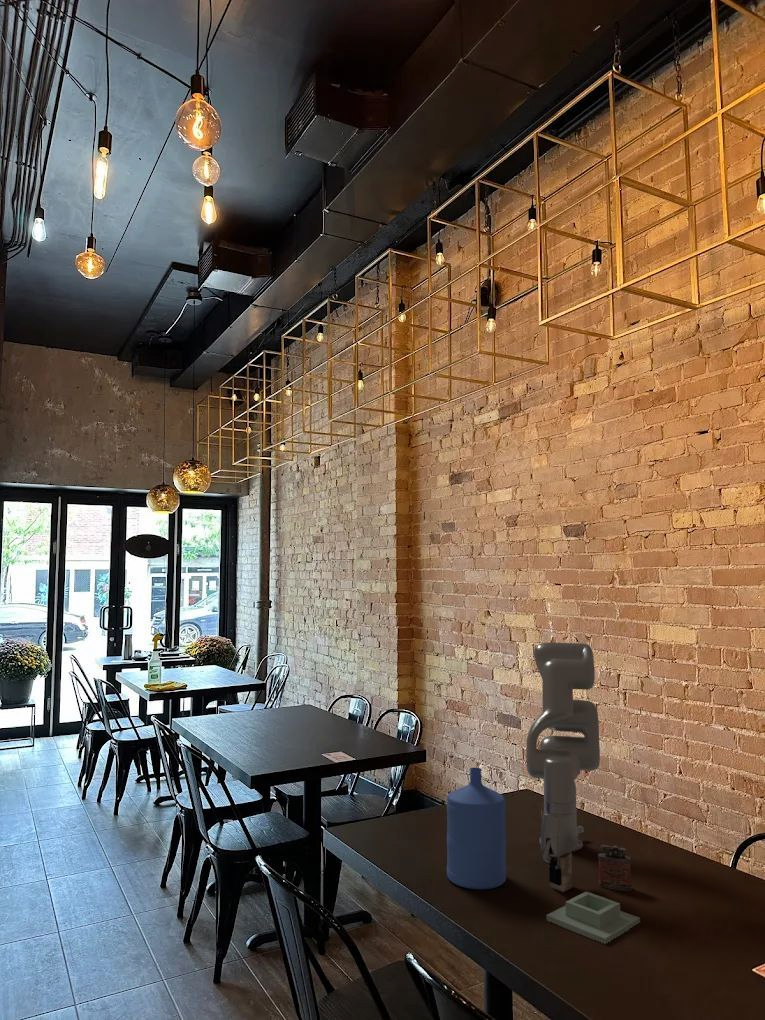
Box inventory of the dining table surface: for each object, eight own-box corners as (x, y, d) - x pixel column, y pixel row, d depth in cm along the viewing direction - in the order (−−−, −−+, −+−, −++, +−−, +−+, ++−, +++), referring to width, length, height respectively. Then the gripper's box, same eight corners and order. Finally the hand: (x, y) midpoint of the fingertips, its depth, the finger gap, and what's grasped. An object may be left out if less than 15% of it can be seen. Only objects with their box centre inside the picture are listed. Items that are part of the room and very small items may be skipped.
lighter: (631, 886, 183) (630, 845, 185) (631, 891, 180) (630, 850, 181) (599, 882, 186) (598, 842, 187) (598, 887, 183) (597, 846, 184)
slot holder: (582, 902, 174) (582, 884, 174) (640, 923, 163) (639, 903, 163) (546, 920, 164) (546, 901, 164) (605, 944, 153) (604, 923, 153)
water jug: (505, 893, 179) (504, 778, 182) (443, 887, 182) (443, 774, 185) (507, 870, 194) (506, 763, 197) (450, 865, 197) (449, 760, 200)
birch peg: (558, 883, 185) (558, 850, 186) (572, 887, 182) (571, 855, 183) (549, 887, 183) (549, 854, 184) (563, 892, 180) (562, 858, 181)
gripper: (565, 797, 193) (566, 868, 191) (528, 810, 182) (529, 885, 180) (589, 804, 188) (591, 877, 185) (552, 817, 176) (554, 894, 174)
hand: (560, 880), depth 183 cm, fingers closed on birch peg, 3 cm apart
